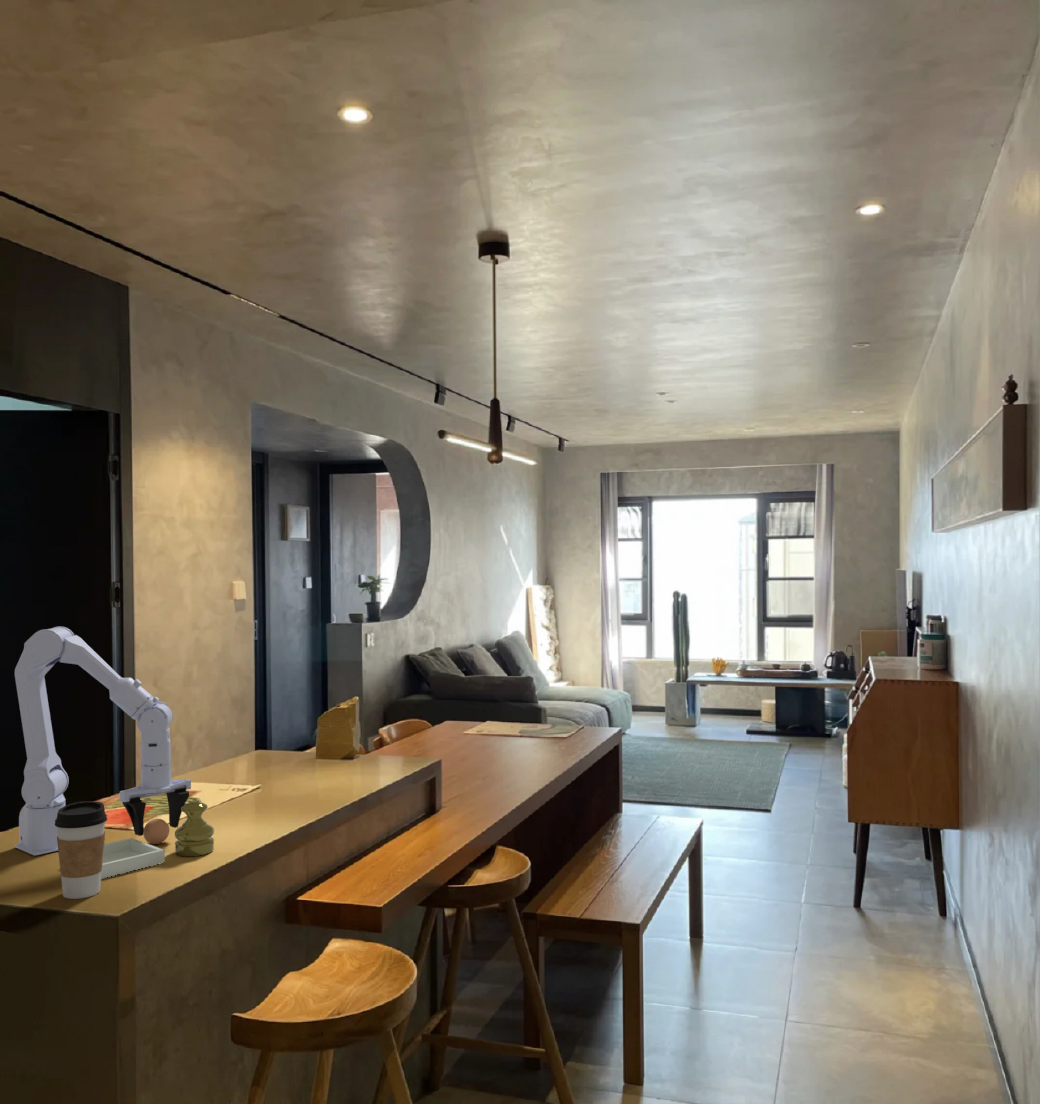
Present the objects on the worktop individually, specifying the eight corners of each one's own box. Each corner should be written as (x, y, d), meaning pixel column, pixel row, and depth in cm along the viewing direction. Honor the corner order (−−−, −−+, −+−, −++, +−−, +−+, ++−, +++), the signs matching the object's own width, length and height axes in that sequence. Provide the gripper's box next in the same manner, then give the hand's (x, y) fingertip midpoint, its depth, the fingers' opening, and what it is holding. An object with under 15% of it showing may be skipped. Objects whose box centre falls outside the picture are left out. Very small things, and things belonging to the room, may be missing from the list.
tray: (68, 865, 191) (68, 852, 191) (131, 850, 200) (131, 838, 200) (100, 879, 183) (100, 865, 183) (164, 863, 192) (164, 849, 192)
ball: (138, 844, 205) (138, 819, 205) (161, 838, 209) (161, 814, 209) (151, 848, 202) (151, 823, 202) (174, 843, 205) (174, 818, 205)
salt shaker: (172, 858, 195) (172, 806, 195) (177, 847, 202) (177, 797, 202) (212, 856, 196) (211, 804, 197) (215, 845, 204) (215, 795, 204)
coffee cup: (115, 884, 180) (114, 800, 180) (96, 901, 171) (96, 812, 171) (67, 885, 179) (66, 801, 179) (46, 902, 171) (45, 813, 171)
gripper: (132, 772, 197) (132, 842, 197) (198, 760, 208) (199, 826, 208) (114, 767, 202) (115, 835, 202) (180, 756, 213) (181, 820, 213)
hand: (156, 830), depth 205 cm, fingers open, 7 cm apart
